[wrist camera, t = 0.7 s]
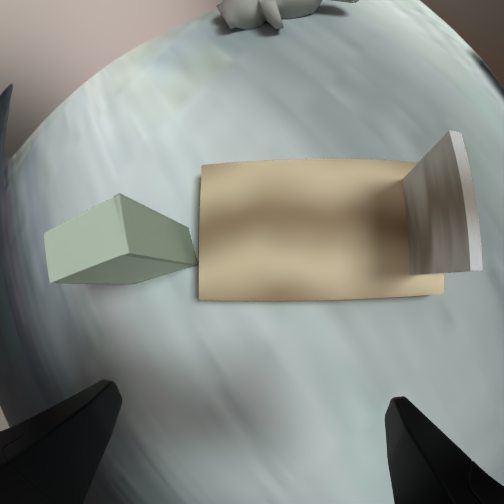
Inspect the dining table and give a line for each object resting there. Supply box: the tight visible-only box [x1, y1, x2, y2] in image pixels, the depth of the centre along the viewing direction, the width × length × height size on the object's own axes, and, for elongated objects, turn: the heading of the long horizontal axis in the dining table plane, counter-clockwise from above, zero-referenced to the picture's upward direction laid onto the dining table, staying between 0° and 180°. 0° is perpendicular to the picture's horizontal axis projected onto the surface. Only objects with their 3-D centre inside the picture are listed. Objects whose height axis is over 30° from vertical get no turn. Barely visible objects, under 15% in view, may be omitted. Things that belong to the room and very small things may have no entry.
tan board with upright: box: [199, 131, 482, 301], centre depth 16 cm, size 10×18×10 cm, turn 90°
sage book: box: [44, 193, 198, 284], centre depth 18 cm, size 3×6×10 cm, turn 106°
